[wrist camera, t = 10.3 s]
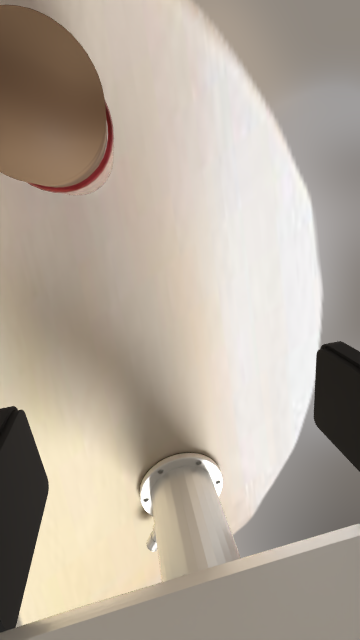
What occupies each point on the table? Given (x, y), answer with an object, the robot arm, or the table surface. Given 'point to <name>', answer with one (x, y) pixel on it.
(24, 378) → the table surface
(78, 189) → the soda can
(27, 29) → the tan short cylinder
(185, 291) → the table surface
